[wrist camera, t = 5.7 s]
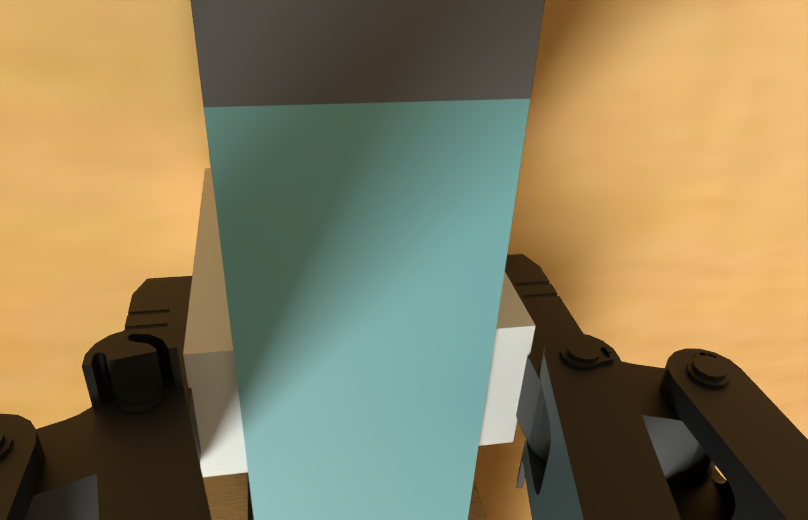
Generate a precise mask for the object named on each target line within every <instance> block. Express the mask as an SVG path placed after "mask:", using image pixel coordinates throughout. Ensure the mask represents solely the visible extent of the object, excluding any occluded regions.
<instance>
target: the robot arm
mask: <svg viewBox="0 0 808 520" xmlns="http://www.w3.org/2000/svg"><path fill="white" fill-rule="evenodd" d="M82 369H83V372H84V376H85V380H86V384H87V388H88V391H89V395H90V399H91V403H92V407H91V408H89V409H87V410H86V411H84V412H82V413H81V414H79V415H77V416H74V417H72V418H69V419H67V420H64V421H61V422H58V423H55V424H51V425H48V426H45V427H42V428H39V429H35V428H34V426H33V424H32V423H31V421H30V420H28V419H25V418H23V417H21V416H19V415H12V414H0V520H212V519H211V514H210V509H209V505H208V500H207V495H206V490H205V486H204V481H203V477H210V476H219V475H227V474H236V473H245V472H248V467H247V459H246V450H245V442H244V434H243V426H242V418H241V409H240V401H239V393H238V385H237V377H236V368H235V360H234V352H233V344H232V336H231V327H230V319H229V311H228V303H227V294H226V286H225V278H224V270H223V262H222V253H221V245H220V237H219V229H218V221H217V212H216V204H215V196H214V188H213V179H212V171H211V168H205V174H204V182H203V191H202V199H201V207H200V216H199V224H198V233H197V241H196V250H195V258H194V267H193V275H192V276H183V277H166V278H150V279H146V281H145V282H144V283H143V284H142V285H141V286H140V287H139V288H138V289H137V290H136V291H135V292H134V293H133V295H132V298H131V303H130V307H129V311H128V316H127V319H126V324H125V330H124V331H122V332H119V333H115V334H112V335H109V336H108V337H106V338H104V339H102V340H101V341H99V342H97V343H96V344H94V346H93V347H92V348H91V349H90V350H89V351H88V352H87V353H86V354H85V357H84V360H83V364H82ZM517 420H518V422H519V424H520V426H521V429H522V431H523V433H524V435H525V437H526V439H525V444H524V449H523V453H522V458H521V463H520V468H519V473H518V478H517V488H523V484H524V479H525V478H526V484H527V490H528V496H529V502H530V508H531V514H532V520H808V439H807V438H806V437H805V436H804V435H803V434H802V433H801V432H800V431H799V430H798V429H797V428H796V427H795V426H794V424H793V423H792V422H791V421H790V420H789V419H788V418H787V417H786V416H785V415H784V414H783V413H782V412H781V411H780V410H779V409H778V407H777V406H776V405H775V404H774V403H773V402H772V401H771V400H770V399H769V398H768V397H767V396H766V395H765V394H764V393H763V392H762V390H761V389H760V388H759V387H758V386H757V385H756V384H755V383H754V382H753V381H752V380H751V379H750V378H749V377H748V376H747V375H746V374H745V372H744V371H743V370H742V369H741V368H739V367H738V366H737V365H736V364H734V363H733V362H732V361H731V360H729V359H727V358H725V357H723V356H721V355H719V354H717V353H714V352H710V351H706V350H702V349H683V350H679V351H676V352H674V353H673V354H672V355H671V356H670V357H669V358H668V361H667V364H666V367H665V368H658V367H651V366H644V365H636V364H631V363H626V362H622V361H621V360H620V358H619V356H618V355H617V353H616V352H615V350H614V349H613V348H612V347H610V346H609V345H608V344H606V343H605V342H604V341H602V340H600V339H597V338H595V337H592V336H590V335H585V334H583V332H582V331H581V329H580V328H579V326H578V325H577V323H576V322H575V320H574V318H573V317H572V315H571V314H570V312H569V311H568V309H567V308H566V306H565V305H564V303H563V301H562V300H561V298H560V297H559V296H557V292H556V291H555V289H554V288H553V286H552V285H551V284H549V280H548V278H547V277H546V275H545V274H544V272H543V271H542V269H541V268H540V266H538V265H537V264H536V263H534V262H533V261H531V260H530V259H528V258H527V257H526V256H524V255H523V254H517V255H507V259H506V265H505V272H504V279H503V285H502V292H501V299H500V306H499V312H498V319H497V326H496V333H495V339H494V346H493V353H492V359H491V366H490V373H489V380H488V386H487V393H486V400H485V406H484V413H483V420H482V427H481V433H480V440H479V446H482V445H491V444H499V443H508V442H513V440H514V434H515V429H516V424H517ZM200 465H201V467H200ZM715 466H717V468H718V469H719V470H720V471H721V473H722V474H723V475H724V477H725V478H726V479H727V480H725V479H724V478H723V477H722V476H721V475H720V473H719V472H718V471H717V470H716V468H715ZM201 471H202V472H201Z"/></svg>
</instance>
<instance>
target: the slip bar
mask: <svg viewBox="0 0 808 520" xmlns="http://www.w3.org/2000/svg"><path fill="white" fill-rule="evenodd" d="M544 3H545V0H191V7H192V15H193V23H194V32H195V40H196V48H197V56H198V65H199V73H200V81H201V89H202V97H203V106H204V114H205V122H206V130H207V138H208V147H209V155H210V163H211V171H212V179H213V188H214V196H215V204H216V212H217V221H218V229H219V237H220V245H221V253H222V262H223V270H224V278H225V286H226V294H227V303H228V311H229V319H230V327H231V336H232V344H233V352H234V360H235V368H236V377H237V385H238V393H239V401H240V409H241V418H242V426H243V434H244V442H245V450H246V459H247V467H248V475H249V483H250V492H251V500H252V508H253V516H254V520H468V514H469V507H470V501H471V494H472V487H473V480H474V474H475V467H476V460H477V454H478V447H479V440H480V433H481V427H482V420H483V413H484V406H485V400H486V393H487V386H488V380H489V373H490V366H491V359H492V353H493V346H494V339H495V333H496V326H497V319H498V312H499V306H500V299H501V292H502V285H503V279H504V272H505V265H506V259H507V252H508V245H509V238H510V232H511V225H512V218H513V212H514V205H515V198H516V191H517V185H518V178H519V171H520V164H521V158H522V151H523V144H524V138H525V131H526V124H527V117H528V111H529V104H530V97H531V91H532V84H533V77H534V70H535V64H536V57H537V50H538V43H539V37H540V30H541V23H542V17H543V10H544Z"/></svg>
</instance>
